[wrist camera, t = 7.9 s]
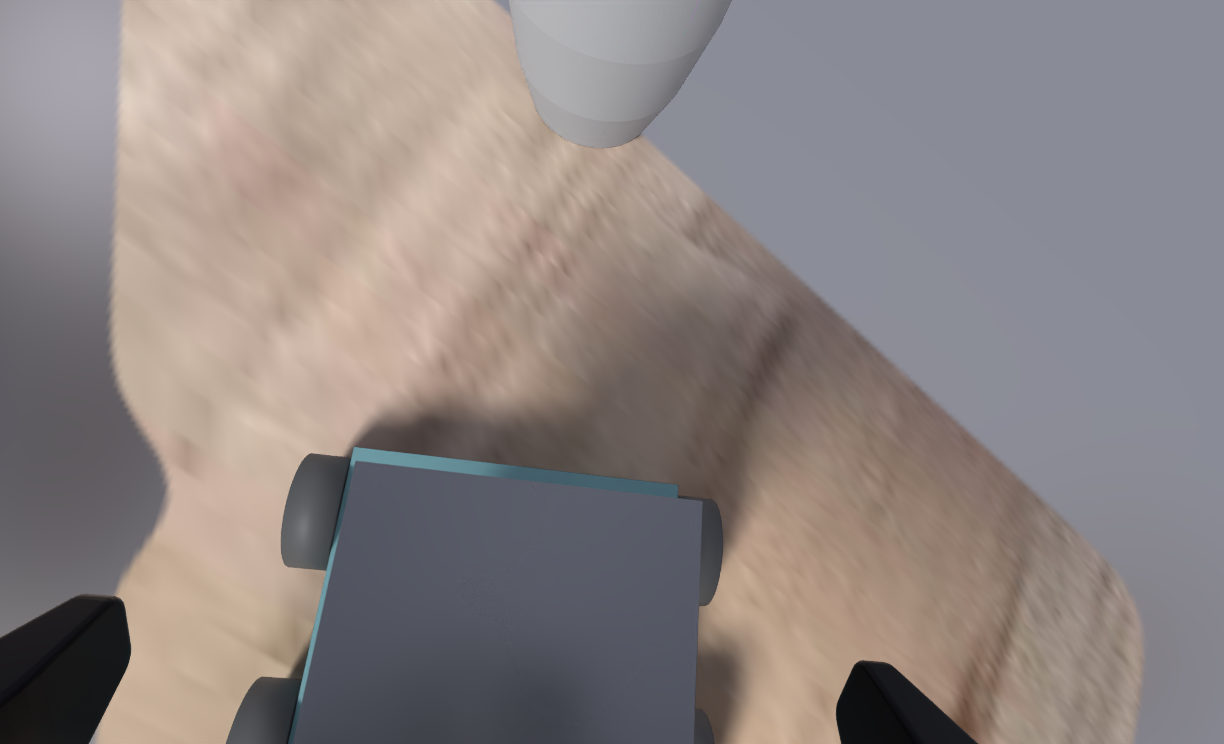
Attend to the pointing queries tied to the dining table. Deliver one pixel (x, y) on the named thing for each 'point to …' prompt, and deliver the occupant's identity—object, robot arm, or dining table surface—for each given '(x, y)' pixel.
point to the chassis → (312, 541)
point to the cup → (609, 61)
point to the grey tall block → (505, 614)
